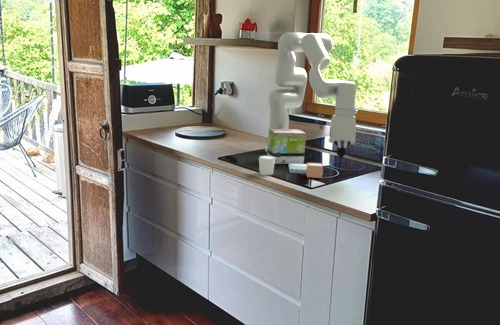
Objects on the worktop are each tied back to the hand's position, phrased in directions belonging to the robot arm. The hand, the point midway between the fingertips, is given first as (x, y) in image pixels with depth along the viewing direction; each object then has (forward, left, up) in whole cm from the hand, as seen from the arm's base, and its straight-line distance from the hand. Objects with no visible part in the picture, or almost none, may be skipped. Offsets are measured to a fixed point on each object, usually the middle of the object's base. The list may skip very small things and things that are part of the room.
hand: (340, 156), depth 189 cm
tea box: (-23, -21, -9) cm, 33 cm away
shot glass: (-1, -30, -9) cm, 32 cm away
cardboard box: (0, -10, -9) cm, 14 cm away
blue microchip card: (-9, -13, -9) cm, 18 cm away
